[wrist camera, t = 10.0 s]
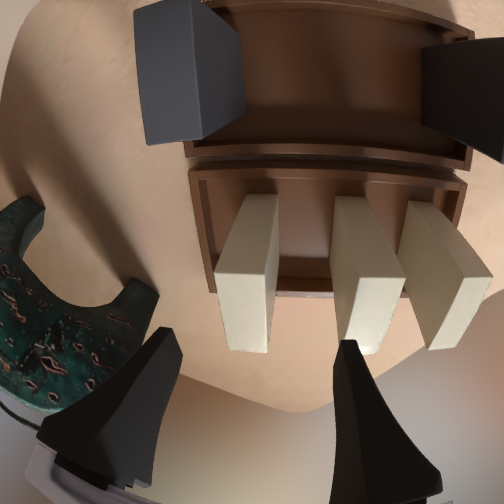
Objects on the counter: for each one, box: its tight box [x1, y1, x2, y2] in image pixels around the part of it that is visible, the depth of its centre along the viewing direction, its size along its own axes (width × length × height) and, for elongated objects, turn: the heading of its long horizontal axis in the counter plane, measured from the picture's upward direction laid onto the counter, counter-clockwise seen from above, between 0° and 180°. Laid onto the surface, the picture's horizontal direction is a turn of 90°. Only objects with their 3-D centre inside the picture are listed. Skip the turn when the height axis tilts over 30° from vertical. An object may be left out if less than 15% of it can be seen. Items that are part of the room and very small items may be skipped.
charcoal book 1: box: [133, 0, 246, 145], centre depth 10 cm, size 2×5×8 cm, turn 4°
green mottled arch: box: [0, 194, 160, 431], centre depth 14 cm, size 20×6×20 cm, turn 55°
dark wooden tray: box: [183, 0, 475, 171], centre depth 12 cm, size 17×9×2 cm, turn 94°
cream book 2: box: [329, 196, 406, 355], centre depth 14 cm, size 2×5×8 cm, turn 4°
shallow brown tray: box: [188, 160, 468, 298], centre depth 17 cm, size 17×9×2 cm, turn 94°
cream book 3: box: [397, 200, 493, 350], centre depth 13 cm, size 2×5×8 cm, turn 4°
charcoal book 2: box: [421, 37, 504, 164], centre depth 8 cm, size 2×5×8 cm, turn 4°
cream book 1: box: [214, 194, 279, 353], centre depth 15 cm, size 2×5×8 cm, turn 4°
